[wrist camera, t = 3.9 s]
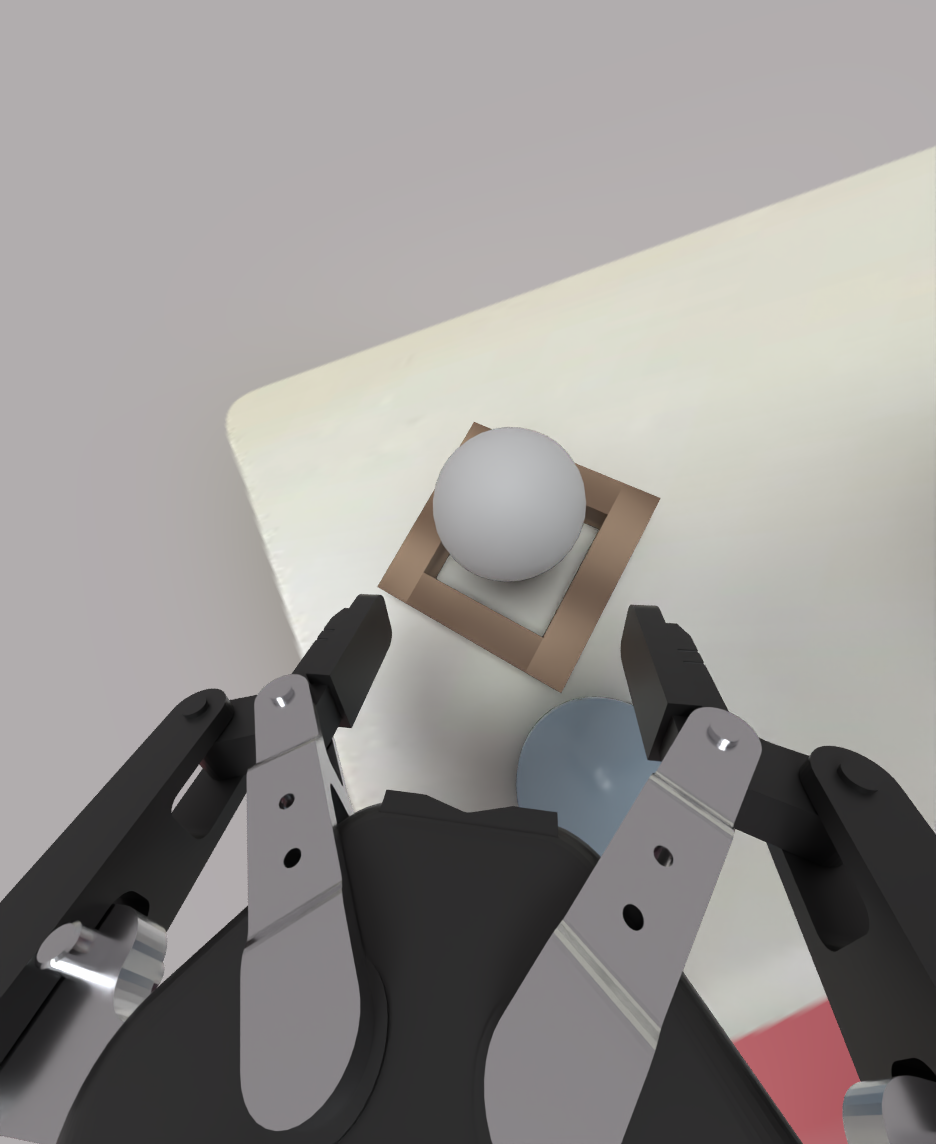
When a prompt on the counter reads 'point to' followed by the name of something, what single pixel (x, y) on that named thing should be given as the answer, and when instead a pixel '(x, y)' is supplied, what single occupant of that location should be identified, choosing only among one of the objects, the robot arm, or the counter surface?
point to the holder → (559, 649)
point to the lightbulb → (509, 504)
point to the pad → (585, 767)
